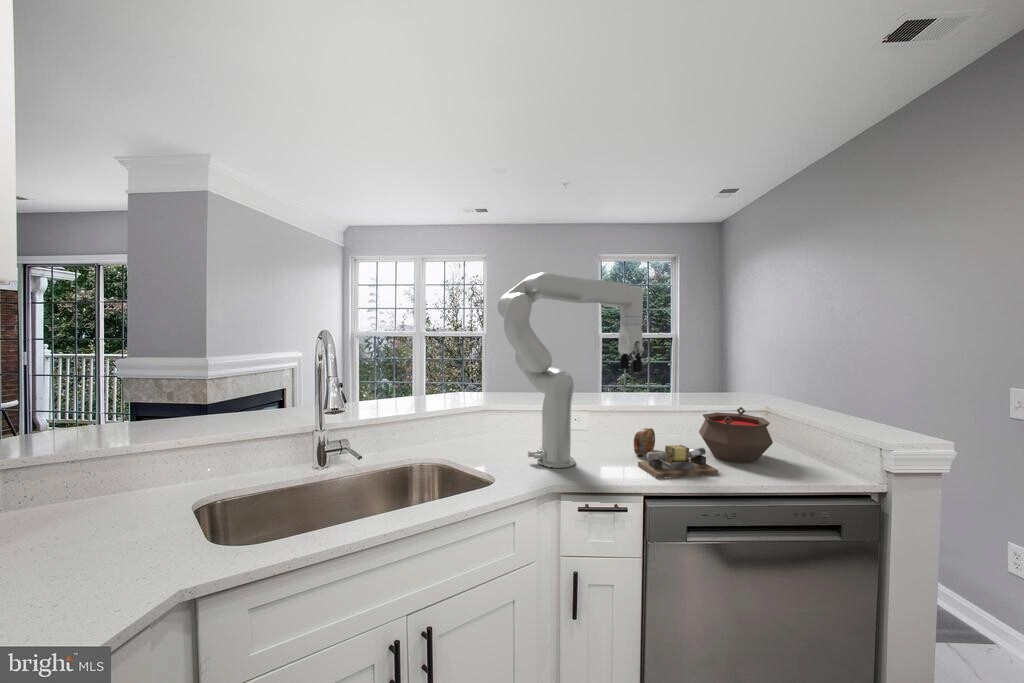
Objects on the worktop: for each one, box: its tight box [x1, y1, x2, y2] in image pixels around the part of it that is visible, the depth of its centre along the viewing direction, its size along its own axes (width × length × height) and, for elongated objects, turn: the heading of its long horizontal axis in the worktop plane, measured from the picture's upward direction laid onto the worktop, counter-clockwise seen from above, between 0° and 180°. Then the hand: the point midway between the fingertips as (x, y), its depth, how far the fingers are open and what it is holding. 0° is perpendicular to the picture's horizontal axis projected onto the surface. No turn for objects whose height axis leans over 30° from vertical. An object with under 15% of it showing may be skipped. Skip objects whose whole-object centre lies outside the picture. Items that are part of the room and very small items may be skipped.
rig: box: [637, 451, 719, 479], centre depth 145 cm, size 21×12×6 cm, turn 101°
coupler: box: [664, 444, 690, 464], centre depth 145 cm, size 6×4×5 cm, turn 101°
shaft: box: [689, 447, 707, 465], centre depth 147 cm, size 6×4×5 cm, turn 121°
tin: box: [633, 427, 656, 457], centre depth 164 cm, size 15×3×8 cm, turn 143°
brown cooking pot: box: [698, 406, 774, 464], centre depth 160 cm, size 24×24×16 cm
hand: (630, 370), depth 160 cm, fingers open, 9 cm apart
